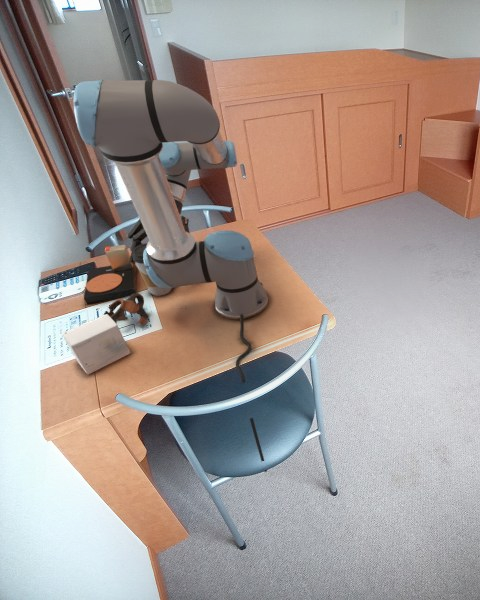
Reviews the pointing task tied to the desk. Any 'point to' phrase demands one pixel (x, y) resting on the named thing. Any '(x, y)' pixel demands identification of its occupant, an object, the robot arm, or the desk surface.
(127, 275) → the hotplate
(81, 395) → the desk surface
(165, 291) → the coffee cup
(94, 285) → the warming ring
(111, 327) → the cosmetics box
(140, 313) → the pottery mug
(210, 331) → the desk surface
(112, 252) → the cream block
